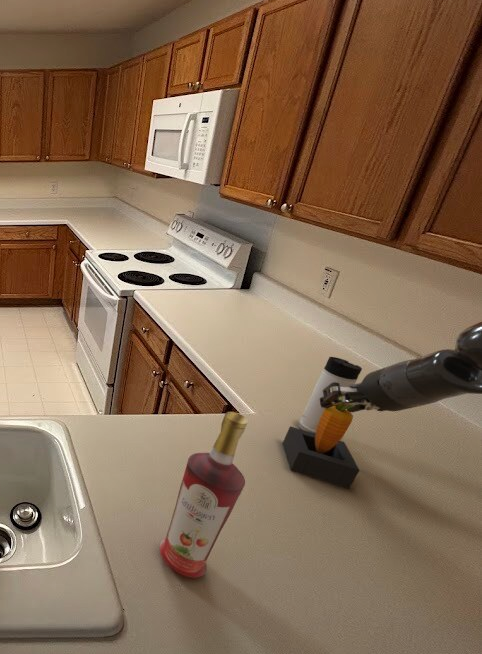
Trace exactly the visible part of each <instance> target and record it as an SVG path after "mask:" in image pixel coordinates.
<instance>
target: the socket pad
mask: <svg viewBox="0 0 482 654" xmlns="http://www.w3.org/2000/svg"><path fill="white" fill-rule="evenodd" d="M315 435H316V434H315V433H311V432H308V431H305V430H302V429H301V428H297V427H294V426H291V425H290V426H289V427H288V430H287V432H286V435H285V436H284V439H283V441H282V447H283V450H284V453H285V457H286V459H287V463H288V466H289V469H290V471H292V472H295V473H299V474H302V475H305V476H308V477H311V478H314V479H317V480H321V481H324V482H327V483H329V484H333V485H336V486H339V487H342V488H345V489H348V490H350V489H351V487H352V485H353V483H354V481H355V479H356V478H357V476H358V474H359V473H360V468H359V467H358V465H357V463H356V461H355V459H354V457H353V455H352V454H351V451H350V450H349V448H348V446H347V444H346V443H345V441H343V440H340V441H339V442H338V443H337V444H336V445H335V446H334V447H333V448H332V449H330V450H329V451H327V452H325V453H323V454H321V453H317V451H316V447H315Z"/></svg>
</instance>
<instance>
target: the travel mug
mask: <svg viewBox="0 0 482 654" xmlns="http://www.w3.org/2000/svg"><path fill="white" fill-rule="evenodd" d="M362 371H363V368H362V366H359V365H358V364H353V363H352V362H349V361H348V360H346V359H343V358H340V357H335V356H329V357H328V359H327V361H326V363H325V366H324V367H323V370H322V371H321V374H320V376H319V378H318V380H317V382H316V385H315V386H314V389H313V391H312V393H311V395H310V397H309V400H308V402H307V404H306V406H305V409H304V411H303V413H302V415H301V416H300V417H301V418H300V420H299V421H298V423H297V424H298V427H299V429H301V430H305V431H308V432H311V433H315V434H316V430H317V426H318V424H319V421H320V419H321V416H322V414H323V412H324V410H325V408H322V407H321V405H320V398H321V397H324V395H323V389H325V388H326V387H327V386H328V385H330V384H331V383H334V382H336V383H339V385H340V387H348V386H350V385H354V384H357V380H358V379H359V376H360V374H361V372H362ZM339 400H340V397H339Z"/></svg>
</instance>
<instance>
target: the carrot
mask: <svg viewBox="0 0 482 654" xmlns="http://www.w3.org/2000/svg"><path fill="white" fill-rule="evenodd" d="M341 399H342V398H340V400H341ZM350 400H351V399H350ZM351 401H352V400H351ZM352 407H355V406H354V405H350V406H349V405H345V404H339V405H336V406H332V407H329V408H325V410H324V412H323V414H322V416H321V419H320V421H319V424H318V426H317V430H316V435H315V447H316V451H317V453H321V454H323V453H325V452H327V451H329V450H330V449H332V448H333V447H334V446H335V445H336V444H337V443H338V442H339V441H341V440H342V438H343V437H344V435H345V434H346V432H347V431H348V429H349V428H350V426H351V424H352V422H353V419H354V415H353V413H352V412H349V411H347V409H349V408H352Z"/></svg>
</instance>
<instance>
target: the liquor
mask: <svg viewBox="0 0 482 654" xmlns="http://www.w3.org/2000/svg"><path fill="white" fill-rule="evenodd" d="M248 422H249V420H248V418H246V417H245V416H244V415H243V414H241V413H238V412H235V411H226V412H225V414H224V416H223V418H222V422H221V425H220V433H219V434H218V436H217V439H216V440H215V442H214V444H213V446H212V448H211V449H210V451H209V452H196V453H193V454H191V455H190V456H189V457H188V458H187V463H186V465H185V469H184V473H183V477H182V480H181V483H180V486H179V491H178V495H177V499H176V501H175V502H176V503H175V506H174V510H173V513H172V517H171V521H170V523H169V526H168V530H167V533H166V536H165V538H164V539H162V541H161V542H160V544H159V552H160V556H161V557H162V559H163V561H164V562H165V563H166V565H168V566H169V567H170V568H171V569H172V571H174V572H176V573H178V574H180V575H182V576H184V577H188V578H200V577H202V576H204V575H205V574H206V572H207V567H208V565H207V560H208V559H209V556H210V554H211V552H212V549H213V548H214V546H215V544H216V542H217V541H218V537H219V535H220V533H221V532H222V530H223V528H224V526H225V525H226V522H227V521H228V519H229V517H230V516H231V513H232V511H233V509H234V507H235V505H236V503H237V502H238V499H239V497H240V495H241V494H242V492H243V490H244V488H245V485H246V479H245V476H244V474H243V473H242V472H241V470H240V469H239V468H238V467H237V466H236V465H235V464H234V458H235V455H236V451H237V447H238V445H239V441H240V439H241V437H242V435H243V434H244V432H245V430H246V427H247V425H248Z"/></svg>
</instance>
